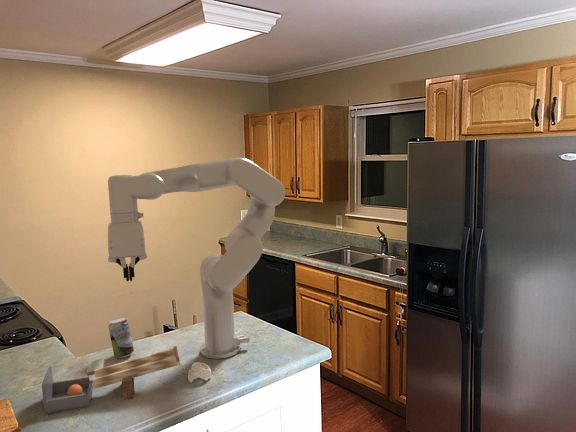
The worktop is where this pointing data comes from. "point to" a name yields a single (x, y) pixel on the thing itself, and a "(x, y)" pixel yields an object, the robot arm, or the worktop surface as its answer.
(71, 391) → the ball
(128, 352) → the beverage can
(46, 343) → the worktop surface
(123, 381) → the fulcrum
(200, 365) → the grey hollow rounded piece
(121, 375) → the lever
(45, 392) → the bin
